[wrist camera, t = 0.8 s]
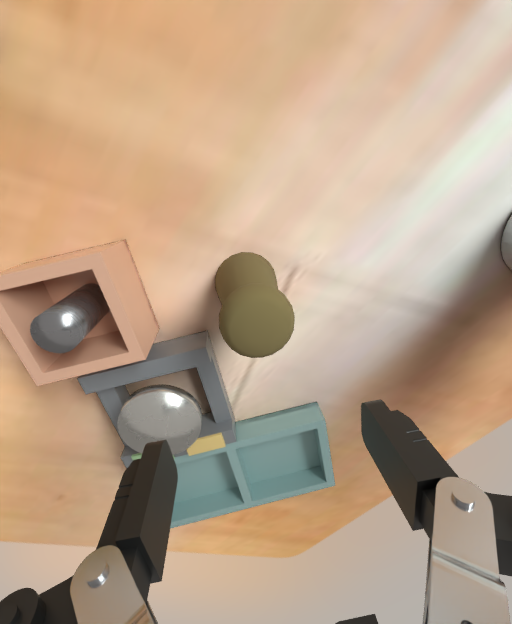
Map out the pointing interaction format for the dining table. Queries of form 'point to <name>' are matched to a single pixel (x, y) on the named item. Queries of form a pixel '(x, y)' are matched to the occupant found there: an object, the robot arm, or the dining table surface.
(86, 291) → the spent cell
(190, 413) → the silver domed disc
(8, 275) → the cup
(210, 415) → the checker cradle
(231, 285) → the olive gourd
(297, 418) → the teal divided tray
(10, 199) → the dining table surface
